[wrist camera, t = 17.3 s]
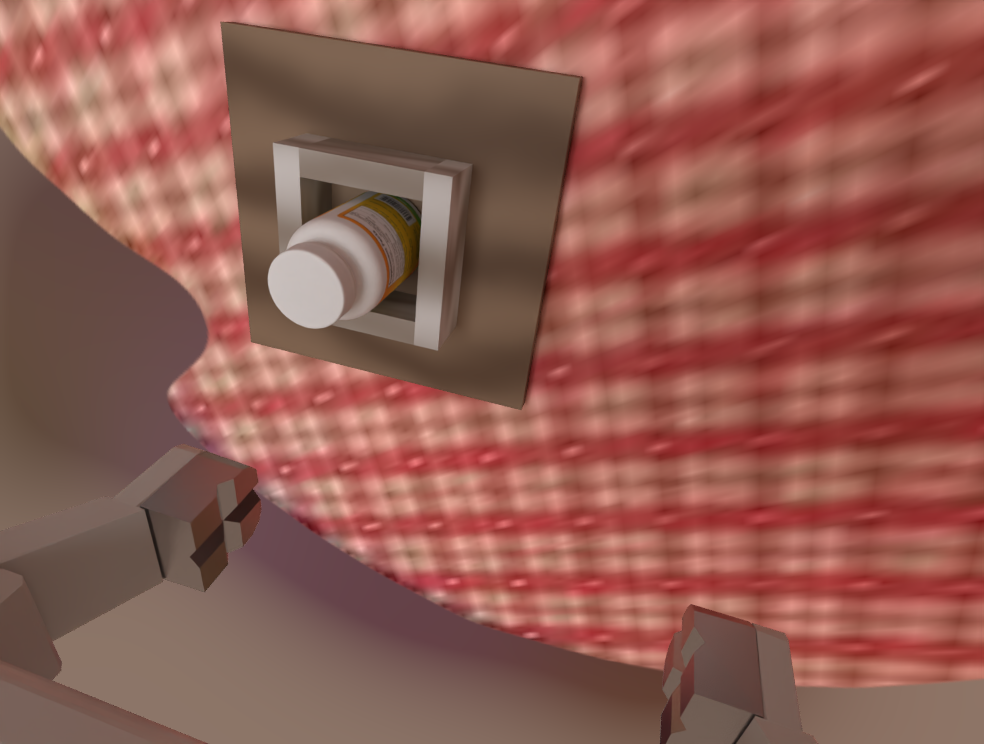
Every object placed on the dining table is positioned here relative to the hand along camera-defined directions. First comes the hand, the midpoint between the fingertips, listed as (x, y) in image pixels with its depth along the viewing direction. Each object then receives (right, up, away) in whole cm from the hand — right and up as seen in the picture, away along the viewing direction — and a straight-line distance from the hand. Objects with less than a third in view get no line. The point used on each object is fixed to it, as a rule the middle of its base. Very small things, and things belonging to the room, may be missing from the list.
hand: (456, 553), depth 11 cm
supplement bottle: (-6, +12, +26) cm, 29 cm away
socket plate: (-6, +12, +27) cm, 30 cm away
